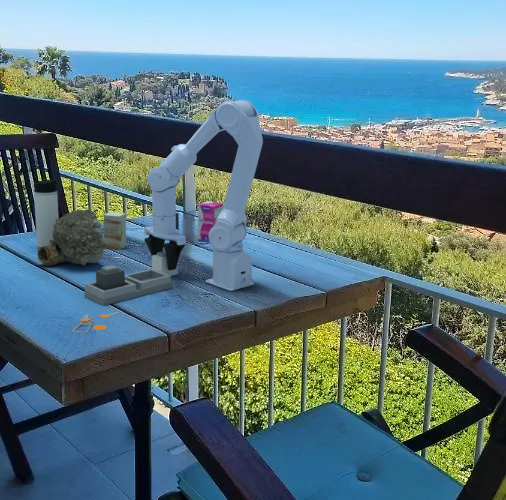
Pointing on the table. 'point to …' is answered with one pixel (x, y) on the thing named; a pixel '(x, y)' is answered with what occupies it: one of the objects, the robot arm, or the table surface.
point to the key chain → (86, 319)
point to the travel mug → (45, 210)
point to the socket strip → (130, 287)
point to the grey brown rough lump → (74, 240)
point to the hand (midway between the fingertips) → (164, 266)
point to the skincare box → (115, 230)
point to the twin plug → (110, 278)
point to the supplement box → (207, 218)
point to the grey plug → (162, 264)
